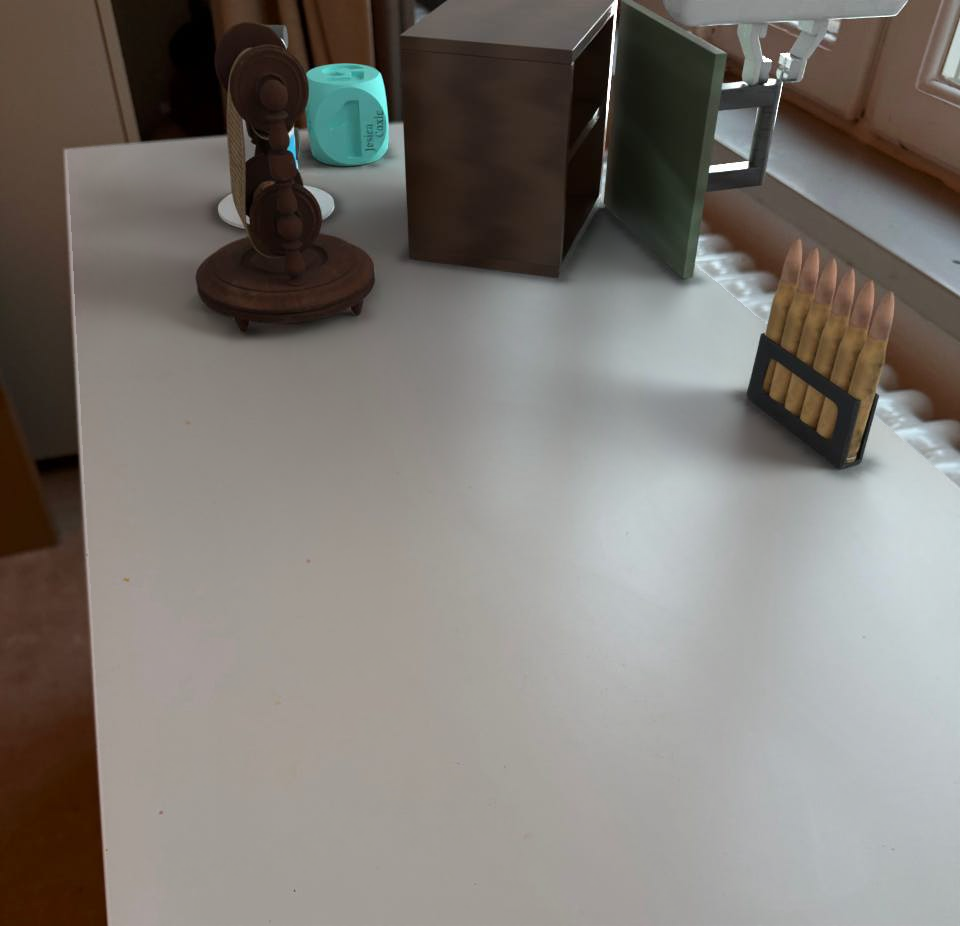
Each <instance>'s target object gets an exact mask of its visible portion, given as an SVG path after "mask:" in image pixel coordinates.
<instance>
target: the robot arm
mask: <svg viewBox="0 0 960 926" xmlns="http://www.w3.org/2000/svg"><path fill="white" fill-rule="evenodd" d="M662 2H663V6H664V8H665V11H666V12H667V14H668V16H669V18H671V19H672V20H673V21H675V22H677V23H679V24H681V25H682V26H685V27H693V28H694V27H709V26H729V25H731V26H732V25H738V26H737V29H736V35H737V37H738V41H739V43H740V46H741V50H742V53H743V56H744V62H743V68H742V73H741V80H742V82H745V83H747V84H748V85H758V84H766V83H767V82H768V80H769V79H770V75H769V73H770V72H771V69H772V65H773V61H772V60H771V59H769V58H766V56H764V55H763V52H762V47H761V42H760V39H765V38H766V36H767V32H768V27H769V23H786V22H787V23H788V22H797V26H796V27H797V29H798V30H800V32H799V34H798V36H797V38H796V40H795V41H794V43H793V45H792V47H791V48H790V50H789V51H788V52H786V53H780V54H779V58H778V67H777V68H776V72H775V75H776V80H780V81H782V83H784V84H785V83H787V84H788V83H800V82H802V80H803V78H804V74H805V70H806V65H807V62H808V60H809V59H810V57H811V56H812V55H813V53H814V52H815V51H816V49H817V48H818V46H819V45H820V43H821V42H822V40H823V39H824V38H825V37H826V34H827V30H828V26H829V23H830V20H841V19H842V20H843V19H863V18H864V19H865V18H880V17H881V18H882V17H895V16H897V15H898V14H899V13H900V12H901V11H902V9H903V8H904V7H905V6H906V4H907V3H908V2H909V0H662Z"/></svg>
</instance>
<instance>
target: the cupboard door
mask: <svg viewBox="0 0 960 926" xmlns="http://www.w3.org/2000/svg"><path fill="white" fill-rule="evenodd" d="M619 9H620V10H619V18H618V20H619V21H618V32H617V41H616V43H617V44H616V55H615V64H614V65H615V66H614V77H613V87H612V89H613V90H612V100H611V111H610V123H609V125H610V126H609V134H608V135H609V136H608V137H609V138H608V144H607V145H608V147H607V156H606V157H607V158H606V168H605V180H604V191H603V203H602V204H603V206H604V207H606V209H608V210H609V211H610V212H611V213H612V214H613V215H614V216H615V217H616V218H618V219H619V220H620V221H621V222H622V223H623V224H624V225H625V226H626V227H627V228H628V229H629V230H630V231H632V233H634V235H636V236H637V237H638V238H639V239H640V240H641V242H643V243H644V244H645V245H646V246H647V247H649V249H651V250H652V251H653V252H654V253H655V254H656V255H657V256H658V257H659V258H660V259H661V260H662V261H663V262H665V264H666V265H668V267H670V268H671V269H672V270H673V271H674V272H675V273H676V274H677V275H678V276H680V278H682V279H691V278H694V272H695V266H696V259H697V253H698V246H699V239H700V234H701V226H702V221H703V213H704V206H705V200H706V194H707V193H710V192H718V191H727V190H735V189H744V188H752V187H759V186H763V185H764V183H765V178H766V173H767V168H768V167H767V166H768V161H769V157H770V150H771V146H772V140H773V135H774V130H775V124H776V120H777V114H778V110H779V109H778V108H779V103H780V99H781V94H782V87H783V82H782V81H781V80H778V79H777V78H776V79H775V78H769V80H768V82H767V83H766V84H758V85H748V84H747V83H745V82H743V81H736V82H735V81H734V82H726V83H725V82H724V78H725V77H724V76H725V71H726V70H725V69H726V65H727V64H726V63H727V57H728V53H727V52H725V51H724V50H722V49H720V48H718V47H716V46H714V45H713V44H711V43H709V42H708V41H706V40H704V39H702V38H701V37H698V36H697V35H695V34H693V33H691V32H689V31H688V30H687V29H685V28H683V27H680V26H679V25H677V24H675V23H674V22H672V21H670V20H668V19H667V18H665V17H663V16H661V15H659V14H657V13H656V12H654V11H652V10H650V9H649V8H647V7H645V6H643V5H641V4H639V3H638V2H636V1H634V0H620V6H619ZM750 108H751V109H753V108H757V110H756V116H755V121H754V127H753V133H752V139H751V145H750V148H749V149H750V150H749V156H748V161H740V162H731V163H725V164H723V163H721V164H714V165H711V162H712V155H713V149H714V142H715V137H716V136H715V135H716V130H717V123H718V116H719V112H723V111H733V110H742V109H743V110H744V109H750Z"/></svg>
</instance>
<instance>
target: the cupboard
mask: <svg viewBox="0 0 960 926" xmlns="http://www.w3.org/2000/svg"><path fill="white" fill-rule="evenodd" d="M617 10H618V0H446V1H444V2H443V3H442V4H440V5H439V6H437V7H436V8H434V9H433V10H432V11H431V12H429V13H428V14H427V15H426V16H424V17H422V18H421V19H419V21H417V22H415V23H414V24H413V25H412V26H410V27H409V28H408V29H406V30H405V31H403V32H402V33H401V34H399V54H400V55H399V56H400V78H401V80H400V81H401V101H402V102H401V104H402V124H403V125H402V126H403V127H402V128H403V147H404V149H403V151H404V174H405V175H404V177H405V198H406V199H405V200H406V220H407V242H408V243H407V245H408V259H410V260H417V261H424V262H433V263H441V264H446V265H447V264H448V265H456V266H463V267H471V268H478V269H479V268H480V269H487V270H493V271H501V272H508V273H515V274H517V273H518V274H524V275H531V276H538V277H545V278H553V279H559V278H560V277H561V275H562V274H563V271H564V269H565V268H566V266H567V264H568V263H569V260H570V259H571V257H572V255H573V253H574V251H575V250H576V248H577V246H578V245H579V242H580V241H581V239H582V237H583V235H584V234H585V232H586V230H587V228H588V227H589V225H590V223H591V221H592V219H593V218H594V216H595V214H596V212H597V210H598V209H599V207H600V205H601V198H602V187H603V186H602V185H603V175H604V163H605V150H606V142H607V141H606V139H607V129H608V117H609V115H608V114H609V103H610V92H611V81H612V68H613V59H614V58H613V56H614V46H615V34H616V33H615V32H616V24H617V23H616V22H617Z"/></svg>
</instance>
